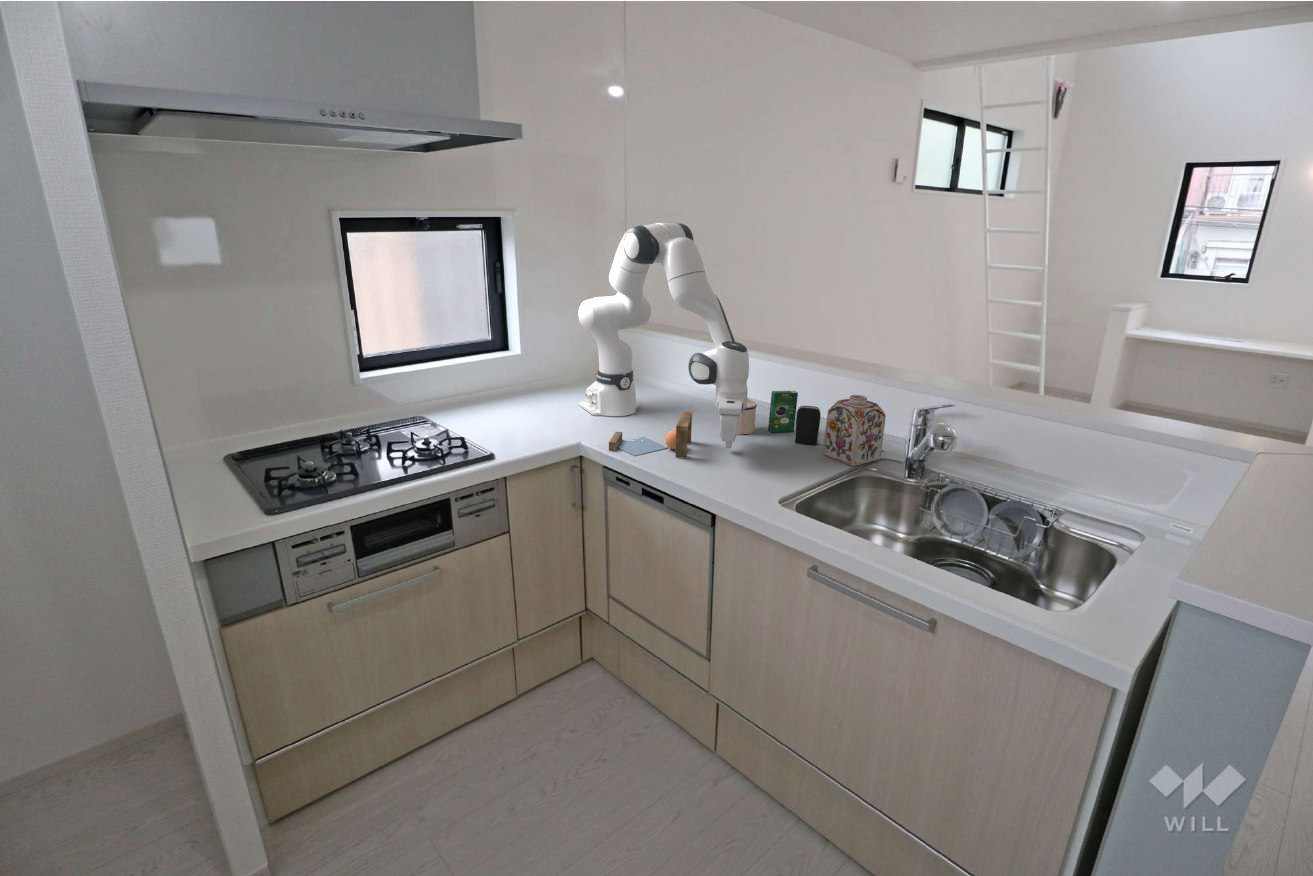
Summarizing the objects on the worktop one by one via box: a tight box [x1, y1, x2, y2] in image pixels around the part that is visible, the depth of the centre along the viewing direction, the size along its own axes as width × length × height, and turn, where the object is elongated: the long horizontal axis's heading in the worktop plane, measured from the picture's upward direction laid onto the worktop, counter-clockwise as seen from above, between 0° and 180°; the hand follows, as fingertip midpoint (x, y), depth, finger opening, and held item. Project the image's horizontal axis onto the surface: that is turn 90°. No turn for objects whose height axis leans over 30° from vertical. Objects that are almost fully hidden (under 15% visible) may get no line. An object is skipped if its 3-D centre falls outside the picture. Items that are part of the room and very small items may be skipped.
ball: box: [664, 429, 676, 451], centre depth 195 cm, size 6×6×6 cm
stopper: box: [608, 431, 623, 452], centre depth 198 cm, size 2×10×2 cm, turn 172°
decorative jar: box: [823, 394, 887, 467], centre depth 189 cm, size 12×12×18 cm
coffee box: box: [767, 390, 799, 434], centre depth 212 cm, size 8×3×13 cm, turn 102°
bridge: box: [675, 410, 693, 459], centre depth 195 cm, size 3×15×9 cm, turn 172°
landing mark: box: [617, 436, 669, 457], centre depth 198 cm, size 12×12×1 cm
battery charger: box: [794, 405, 821, 446], centre depth 202 cm, size 7×4×11 cm, turn 75°
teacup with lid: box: [718, 397, 758, 436], centre depth 212 cm, size 12×9×12 cm
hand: (728, 446), depth 194 cm, fingers closed
